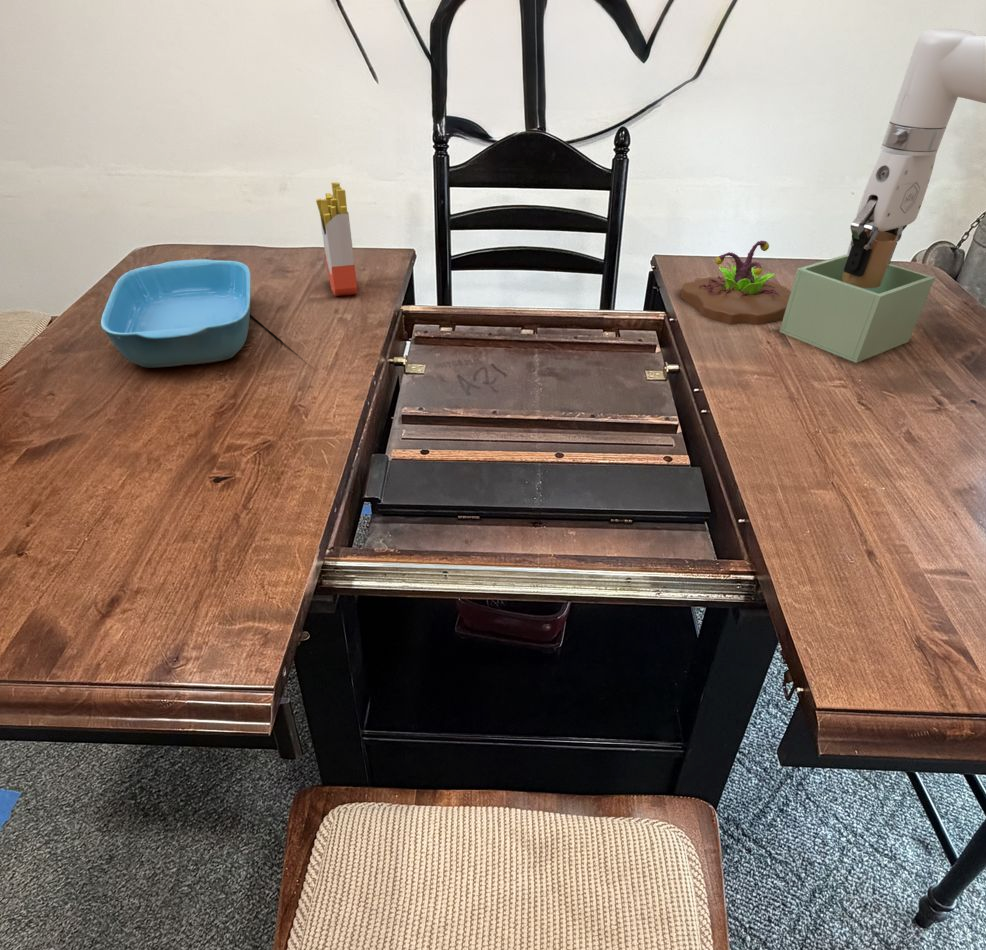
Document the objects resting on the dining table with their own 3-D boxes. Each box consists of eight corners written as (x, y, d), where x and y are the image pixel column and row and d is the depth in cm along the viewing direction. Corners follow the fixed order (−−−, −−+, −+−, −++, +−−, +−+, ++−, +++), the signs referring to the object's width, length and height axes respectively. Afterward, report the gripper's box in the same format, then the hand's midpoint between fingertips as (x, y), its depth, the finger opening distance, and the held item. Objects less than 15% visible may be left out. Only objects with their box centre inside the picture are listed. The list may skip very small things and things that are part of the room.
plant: (815, 321, 128) (836, 255, 120) (716, 331, 124) (732, 263, 116) (758, 283, 142) (774, 222, 134) (668, 291, 138) (679, 228, 131)
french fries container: (334, 303, 132) (319, 194, 120) (327, 283, 139) (312, 179, 127) (359, 300, 133) (346, 193, 121) (350, 281, 140) (338, 178, 128)
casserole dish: (134, 300, 132) (120, 259, 127) (257, 291, 136) (249, 251, 131) (106, 388, 106) (88, 341, 101) (260, 373, 110) (250, 328, 105)
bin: (907, 344, 121) (935, 277, 113) (854, 366, 114) (880, 296, 107) (831, 316, 130) (852, 252, 122) (778, 334, 123) (797, 268, 116)
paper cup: (888, 283, 115) (906, 237, 110) (866, 290, 113) (883, 243, 108) (855, 273, 119) (871, 227, 114) (834, 279, 116) (849, 233, 111)
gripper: (902, 150, 96) (854, 287, 108) (969, 137, 104) (916, 267, 116) (853, 140, 101) (812, 273, 113) (921, 129, 108) (875, 254, 120)
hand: (865, 269), depth 114 cm, fingers closed on paper cup, 6 cm apart
